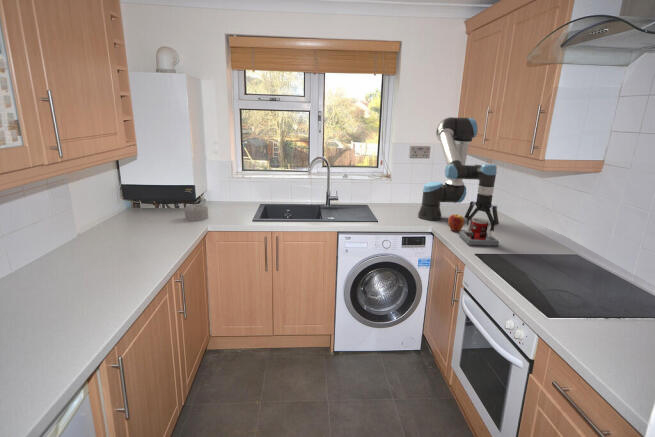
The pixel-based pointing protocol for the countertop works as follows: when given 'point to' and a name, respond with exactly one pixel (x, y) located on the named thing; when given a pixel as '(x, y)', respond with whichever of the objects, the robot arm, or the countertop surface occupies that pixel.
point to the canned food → (479, 229)
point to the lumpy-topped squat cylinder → (196, 213)
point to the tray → (488, 242)
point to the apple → (456, 222)
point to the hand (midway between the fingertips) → (479, 233)
